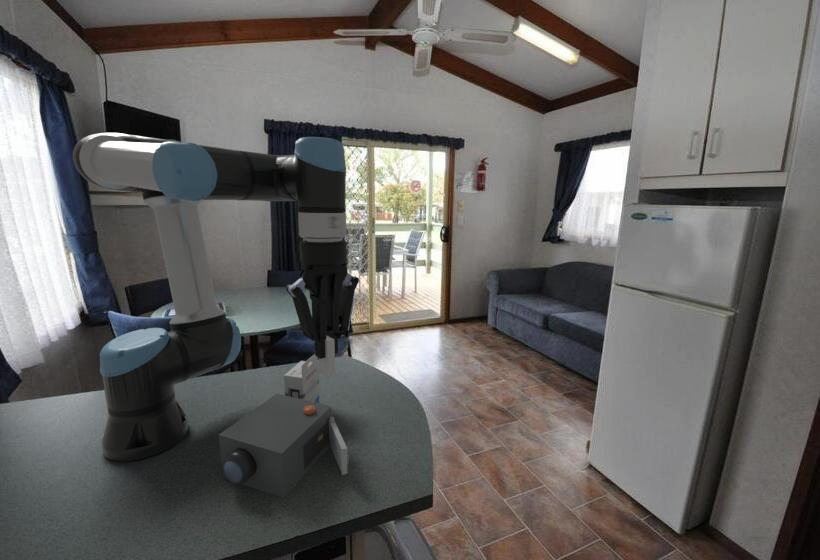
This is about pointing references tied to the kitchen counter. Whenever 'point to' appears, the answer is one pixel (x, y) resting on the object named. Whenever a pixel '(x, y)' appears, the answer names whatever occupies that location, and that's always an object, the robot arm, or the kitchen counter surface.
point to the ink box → (303, 380)
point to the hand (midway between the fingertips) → (327, 372)
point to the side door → (339, 448)
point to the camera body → (275, 444)
